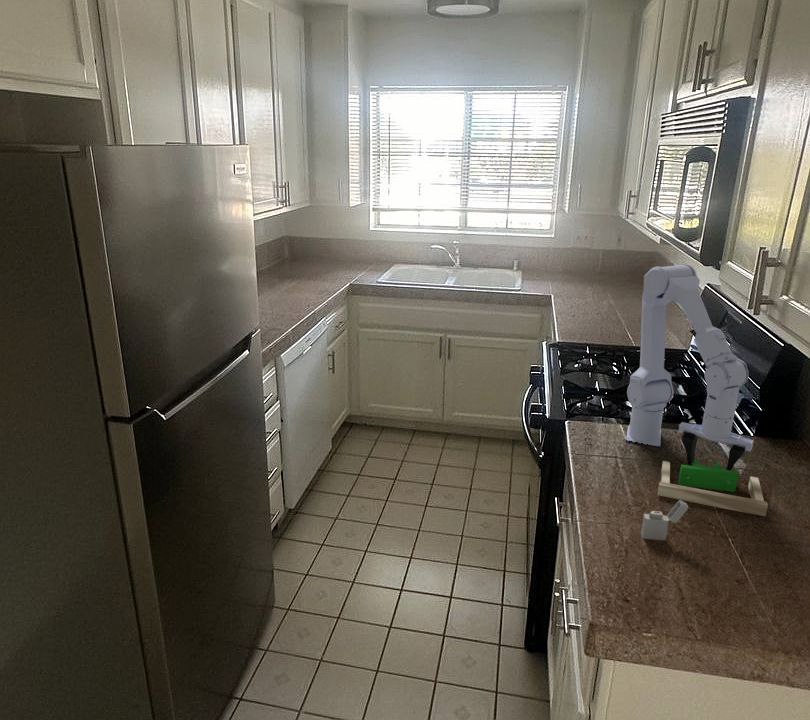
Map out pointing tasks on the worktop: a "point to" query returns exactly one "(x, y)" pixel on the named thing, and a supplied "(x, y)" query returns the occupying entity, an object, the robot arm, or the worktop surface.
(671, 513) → the lighter
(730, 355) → the robot arm
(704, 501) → the frame
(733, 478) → the pipe clamp
